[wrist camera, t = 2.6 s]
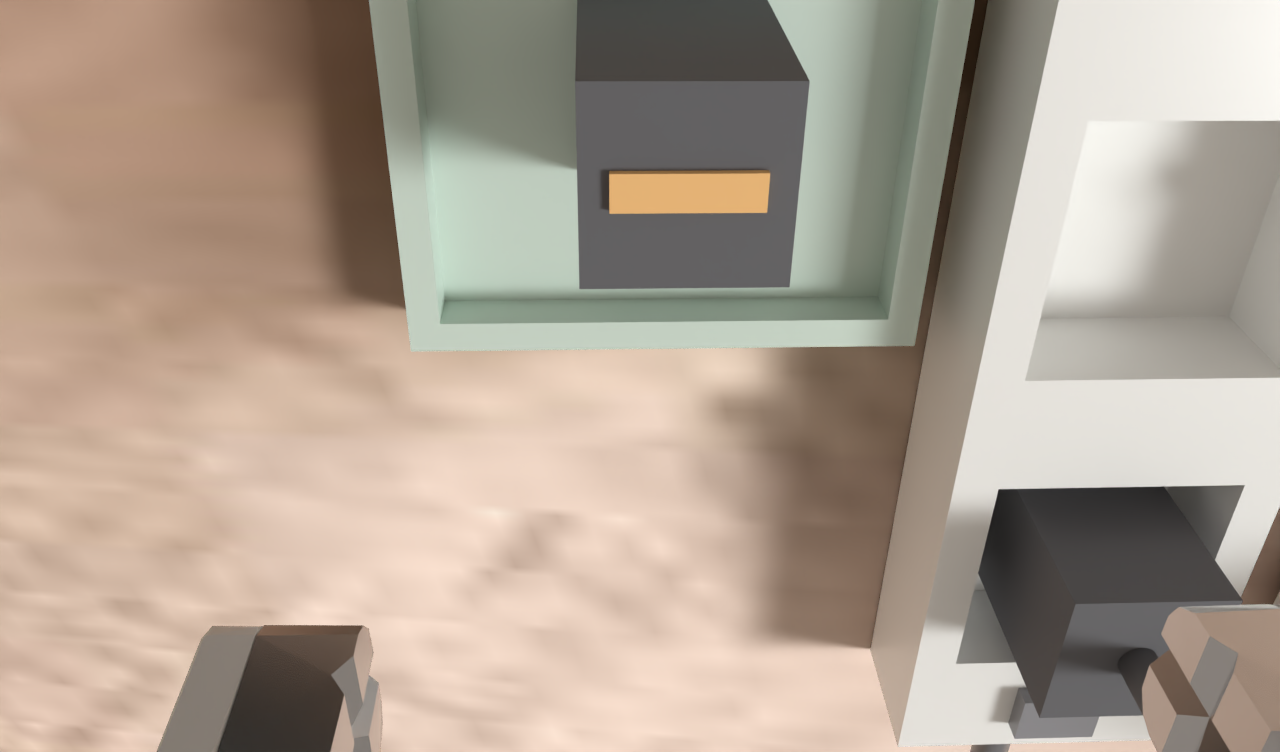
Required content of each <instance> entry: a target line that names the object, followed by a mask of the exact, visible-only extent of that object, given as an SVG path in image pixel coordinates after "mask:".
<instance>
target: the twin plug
mask: <svg viewBox="0 0 1280 752" xmlns="http://www.w3.org/2000/svg"><path fill="white" fill-rule="evenodd" d="M978 574H979V577H980V579H981V581H982V584H983V586H984V588H985V591H986V593H987V596H988V598H989V600H990V603H991V605H992V607H993V610H994V612H995V614H996V617H997V619H998V621H999V624H1000V626H1001V628H1002V631H1003V633H1004V636H1005V638H1006V640H1007V643H1008V645H1009V647H1010V650H1011V652H1012V654H1013V657H1014V659H1015V661H1016V664H1017V666H1018V669H1019V671H1020V673H1021V676H1022V678H1023V680H1024V683H1025V685H1026V687H1027V690H1028V692H1029V694H1030V697H1031V699H1032V701H1033V704H1034V706H1035V709H1036V711H1037V713H1038V716H1039V718H1061V717H1101V716H1141V715H1143V703H1142V687H1143V683H1144V680H1145V677H1146V674H1147V671H1148V668H1149V665H1150V664H1151V663H1153V662H1154V661H1155V660H1156V659H1158V658H1159V657H1160V656H1162V655H1163V654H1164V653H1165V652H1167V651H1168V650H1169V647H1168V645H1167V643H1166V642H1165V640H1164V638H1163V637H1162V635H1161V633H1162V631H1163V628H1164V626H1165V623H1166V621H1167V618H1168V616H1169V615H1170V614H1171V613H1172V612H1173V611H1175V610H1176V609H1177V608H1178V607H1191V606H1222V605H1241V604H1242V602H1243V600H1242V599H1241V597H1240V596H1239V594H1238V593H1237V591H1236V590H1235V588H1234V587H1233V586H1232V584H1231V583H1230V581H1229V580H1228V578H1227V577H1226V575H1225V574H1224V573H1223V571H1222V570H1221V568H1220V567H1219V565H1218V564H1217V562H1216V561H1215V560H1214V558H1213V557H1212V555H1211V554H1210V552H1209V551H1208V549H1207V548H1206V547H1205V545H1204V544H1203V542H1202V541H1201V539H1200V538H1199V536H1198V535H1197V534H1196V532H1195V531H1194V529H1193V528H1192V526H1191V525H1190V523H1189V522H1188V521H1187V519H1186V518H1185V516H1184V515H1183V513H1182V512H1181V510H1180V509H1179V508H1178V506H1177V505H1176V503H1175V502H1174V500H1173V499H1172V497H1171V496H1170V494H1169V493H1168V492H1167V490H1166V489H1165V487H1164V486H1162V487H1101V488H1040V489H999V490H998V494H997V498H996V502H995V506H994V510H993V514H992V518H991V522H990V526H989V530H988V535H987V539H986V543H985V547H984V551H983V555H982V559H981V563H980V567H979V571H978ZM1143 717H1144V716H1143Z"/></svg>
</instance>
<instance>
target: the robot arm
mask: <svg viewBox="0 0 1280 752" xmlns="http://www.w3.org/2000/svg"><path fill="white" fill-rule="evenodd" d="M1161 635H1162V637H1163V638H1164V640H1165V642H1166V643H1167V645H1168V647H1169V650H1168V651H1167V652H1165V653H1164V654H1163V655H1162V656H1160V657H1159V658H1158V659H1156V660H1155V661H1154V662H1153V663H1151V664H1150V665H1149V668H1148V671H1147V674H1146V677H1145V680H1144V683H1143V687H1142V703H1143V716H1144V720H1145V723H1146V727H1147V730H1148V734H1149V736H1150V738H1151V740H1152V742H1153V744H1154V746H1155V748H1156V750H1157V752H1280V604H1275V605H1270V604H1253V605H1222V606H1191V607H1178V608H1177V609H1176V610H1175V611H1173V612H1172V613H1171V614H1170V615H1169V616H1168V618H1167V621H1166V623H1165V626H1164V628H1163V631H1162V633H1161ZM372 657H373V647H372V642H371V638H370V633H369V628H367V627H365V626H328V625H264V626H212V627H211V628H210V630H209V631H208V632H207V633H206V634H205V635H204V636H203V638H202V639H201V641H200V643H199V646H198V648H197V651H196V653H195V656H194V658H193V661H192V664H191V666H190V669H189V671H188V674H187V676H186V679H185V681H184V684H183V686H182V689H181V691H180V694H179V696H178V699H177V701H176V704H175V706H174V709H173V711H172V714H171V716H170V719H169V722H168V724H167V727H166V729H165V732H164V734H163V737H162V739H161V742H160V744H159V747H158V749H157V752H381V740H382V725H383V720H382V701H381V694H380V688H379V683H378V682H377V681H375V680H374V679H373V678H372V677H371V676H369V672H370V667H371V662H372Z"/></svg>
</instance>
